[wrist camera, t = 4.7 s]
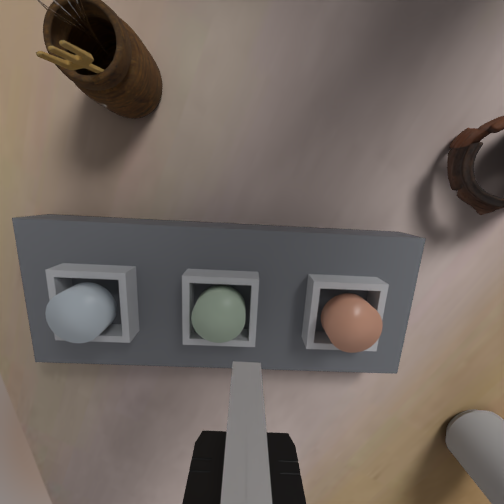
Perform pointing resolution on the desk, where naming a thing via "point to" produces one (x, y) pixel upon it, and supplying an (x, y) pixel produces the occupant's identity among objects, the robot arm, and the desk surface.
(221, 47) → the desk surface
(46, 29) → the utensil holder
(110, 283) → the console
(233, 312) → the sage button
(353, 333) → the terracotta button
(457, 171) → the dark brown curved piece
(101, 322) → the pale blue button
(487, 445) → the can
